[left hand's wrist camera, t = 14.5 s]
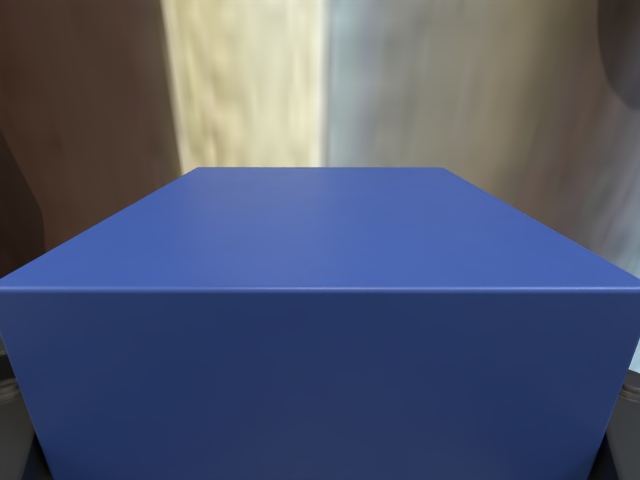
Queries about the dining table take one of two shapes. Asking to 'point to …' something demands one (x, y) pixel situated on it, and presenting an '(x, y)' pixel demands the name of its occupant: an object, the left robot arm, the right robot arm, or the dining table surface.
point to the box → (320, 334)
